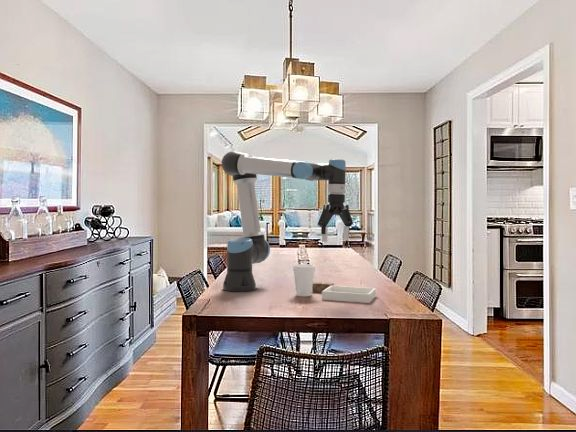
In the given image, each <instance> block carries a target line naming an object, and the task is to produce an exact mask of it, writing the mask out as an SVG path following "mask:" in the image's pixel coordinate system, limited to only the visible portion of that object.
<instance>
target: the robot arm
mask: <svg viewBox="0 0 576 432" xmlns="http://www.w3.org/2000/svg"><path fill="white" fill-rule="evenodd" d="M220 162H221V163H220V164H221V168H222V170H223V172H224V173H226V174H227V175H228V176H231V177H232V181H233V183H234V184H235V185H236V189H237V196H238V203H239V212H240V219H241V228H242V235H241V236H240V237H236V238H232V239H229V240H228V241H227V247H226V275H225V278H224V280H223V283H222V290H223V291H227V292H238V293H239V292H240V293H241V292H243V293H244V292H251V291H255V290H257V284H256V280H255V278H254V274H253V264H261V262H264V261H266V260H267V259H268V257H269V256H270V253H271V247H270V243H269V242H268V241H267V240H266V238H265V234H264V232H262V229H261V224H260V217H259V209H258V203H257V202H258V201H257V194H256V187H255V186H256V185H255V184H256V181H257V179H258V178H257V177H258V175H261V176H262V175H263V176H271V177H280V178H289V179H291V178H292V179H296V180H297V179H298V180H299V179H300V180H305V181H312V182H313V181H328V182H327V183H328V186H327V188H328V190H327V191H328V192H327V193H329V194H328V195H327V201H328V202H327V203H329V204H325V203H324V204H323V208H322V211H321V214H320V217H319V219H318V221H317V225H318V226H319V227H321V228H320V229H321V230H320V233H321V242H324V243H325V242H326V243H328V235H329V234H328V230H329V229H328V226H327V225H328V224H329V223H330V221H331V220H332V218H333V217H334V215H336V216H339V217H340V220H341V221H342V223H343V229H342V231H343V233H342V240H343V241H348V242H349V234H350V227H352V225H354V221H353V218H352V215H351V211H350V207H349V204H344V203H345V201H346V173H347V168H346V160H345V159H343V158H332V159H331V158H330V159H329V160H328V163H315V162H308V161H304V160H301V161H299V160H289V159H279V158H277V159H276V158H269V157H268V158H265V157H259V156H258V157H256V156H254V155H253V154H250V153H248V152H240V151H229V152H227V153H225V154H224V155H223V157H222V159H221V161H220Z"/></svg>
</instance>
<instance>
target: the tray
mask: <svg viewBox="0 0 576 432" xmlns="http://www.w3.org/2000/svg"><path fill="white" fill-rule="evenodd" d="M376 296H377V288H376V287H363V286H361V287H360V286H347V285H346V286H345V285H335V284H334V285H331V286H329V287H328V288H326V289H325V290H323V291H322V292H321V300H323V301H326V300H327V301H335V302H336V301H340V302H350V303H351V302H352V303H363V304H364V303H365V304H370V303H371V302H372V301H373V300H374V299H375V298H376Z"/></svg>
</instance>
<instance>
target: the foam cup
mask: <svg viewBox="0 0 576 432" xmlns="http://www.w3.org/2000/svg"><path fill="white" fill-rule="evenodd" d="M292 267H293V275H294V283H295V285H294V286H295V291H296V293H295V294H296V296H298V297H310V296H312V294H313V292H312V286H313V282H314V277H315V272H316V265H315V264H308V263H301V264H300V263H296V264H294V265H293V266H292Z"/></svg>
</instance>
